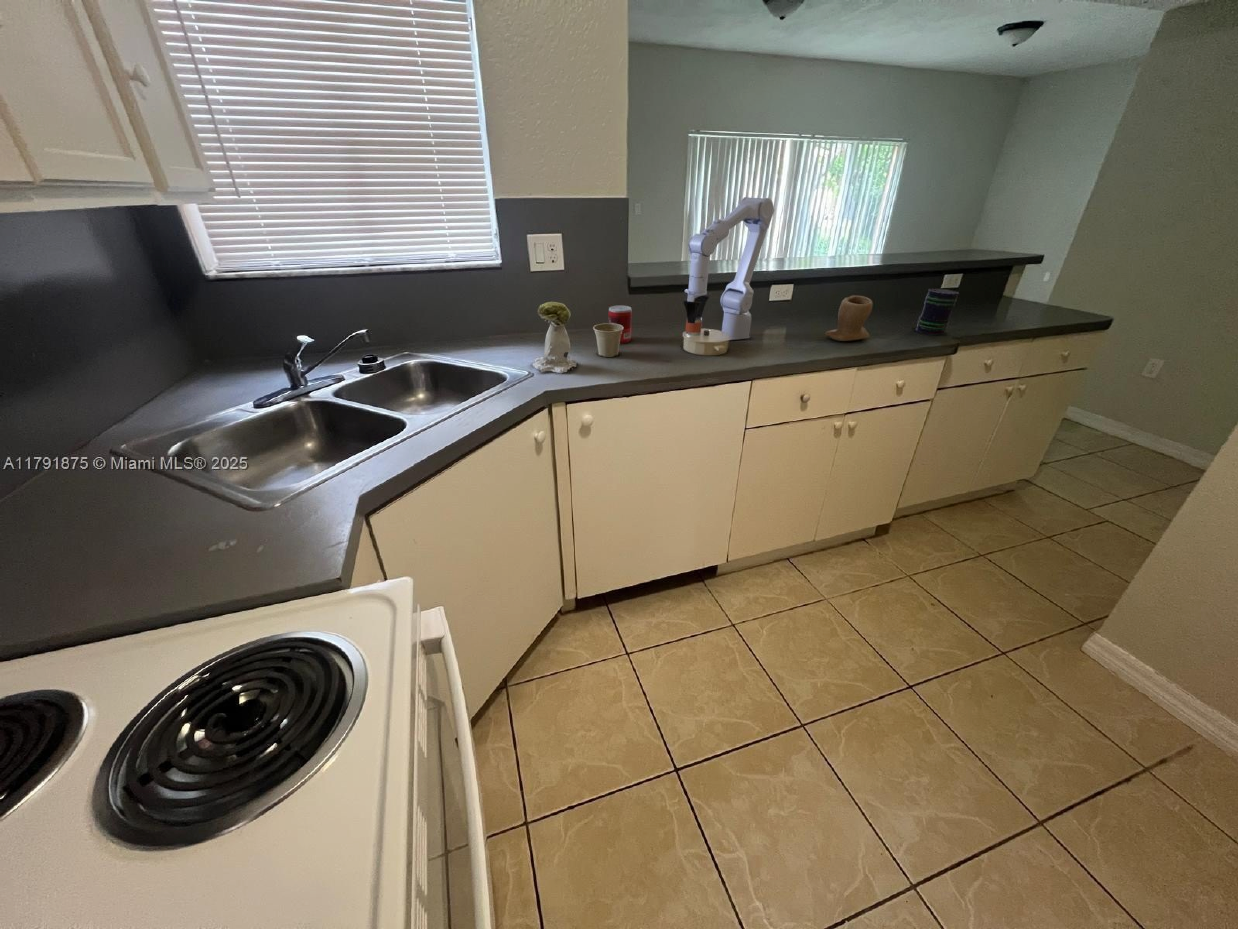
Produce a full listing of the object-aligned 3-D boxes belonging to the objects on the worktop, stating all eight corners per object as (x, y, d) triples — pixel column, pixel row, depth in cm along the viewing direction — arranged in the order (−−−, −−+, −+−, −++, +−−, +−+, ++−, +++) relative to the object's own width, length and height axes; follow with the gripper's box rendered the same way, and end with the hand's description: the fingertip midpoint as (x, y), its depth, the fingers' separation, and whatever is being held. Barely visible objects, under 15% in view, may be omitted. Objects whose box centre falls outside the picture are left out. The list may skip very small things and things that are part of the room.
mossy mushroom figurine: (536, 359, 149) (532, 297, 140) (578, 359, 149) (576, 298, 140) (530, 372, 139) (524, 306, 130) (575, 373, 139) (572, 307, 129)
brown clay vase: (841, 346, 167) (853, 301, 159) (820, 336, 177) (830, 293, 169) (877, 343, 171) (890, 299, 163) (854, 333, 181) (866, 292, 173)
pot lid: (714, 330, 169) (715, 322, 168) (739, 342, 156) (740, 334, 155) (674, 333, 164) (674, 326, 163) (696, 347, 151) (697, 339, 150)
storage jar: (947, 331, 186) (962, 291, 178) (941, 336, 180) (956, 294, 172) (918, 326, 192) (932, 287, 184) (912, 331, 185) (925, 290, 178)
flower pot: (601, 360, 149) (601, 332, 145) (588, 352, 156) (588, 325, 152) (628, 356, 153) (628, 329, 148) (614, 348, 160) (615, 321, 155)
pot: (708, 338, 172) (709, 326, 170) (740, 355, 156) (742, 343, 154) (671, 341, 168) (672, 330, 165) (700, 359, 152) (702, 347, 150)
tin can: (696, 330, 164) (697, 315, 161) (703, 334, 160) (705, 319, 157) (682, 331, 162) (684, 316, 160) (690, 335, 158) (691, 320, 156)
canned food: (631, 337, 171) (632, 305, 165) (629, 344, 164) (630, 311, 158) (609, 336, 171) (610, 304, 166) (607, 343, 165) (607, 310, 159)
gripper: (692, 271, 159) (689, 313, 166) (679, 278, 148) (676, 323, 155) (714, 273, 157) (709, 316, 164) (702, 280, 145) (697, 326, 152)
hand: (694, 320), depth 159 cm, fingers open, 7 cm apart
